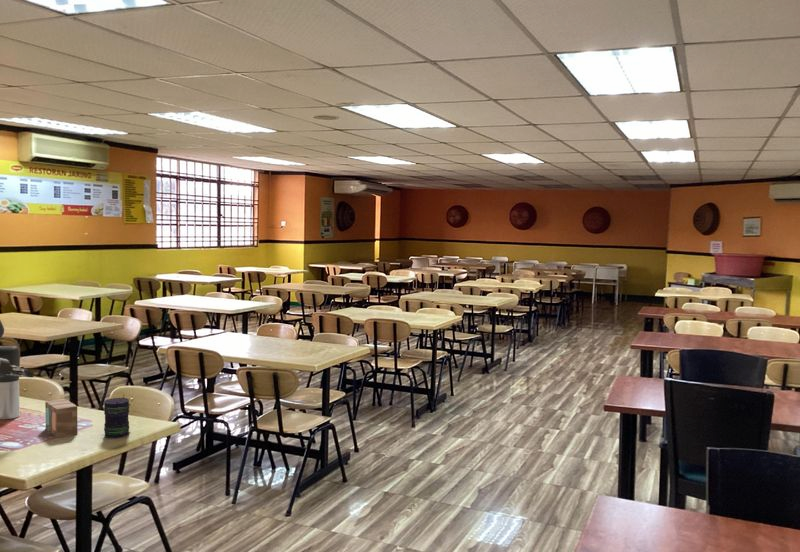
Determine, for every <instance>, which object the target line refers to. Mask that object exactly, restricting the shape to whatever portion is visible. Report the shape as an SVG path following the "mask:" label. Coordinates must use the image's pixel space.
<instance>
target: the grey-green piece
mask: <svg viewBox="0 0 800 552" xmlns="http://www.w3.org/2000/svg"><path fill="white" fill-rule="evenodd" d="M46 424H47V425H48V426H50V409H49V408H48V407H46V409H45V425H46Z"/></svg>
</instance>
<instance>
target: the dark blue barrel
mask: <svg viewBox="0 0 800 552" xmlns="http://www.w3.org/2000/svg"><path fill="white" fill-rule="evenodd" d="M129 402H130V399H129V398H127V397H124V398H123V397H114V398H109V399H106V400H104V402H103V403H104V405H103V411H104V412H103V413H104V428H103V429H104V438H105V439H114V440H115V439H121V438H125V437H129V435H130V421H129V413H130V406H129V404H130V403H129Z"/></svg>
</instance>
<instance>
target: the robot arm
mask: <svg viewBox="0 0 800 552" xmlns="http://www.w3.org/2000/svg"><path fill="white" fill-rule="evenodd" d="M4 333H5V327H4V325H3V322H2V320H1V319H0V340H1V339H2V338H3V336H4ZM20 363H21V351H20V347H18V346H17V345H8V346H7V345H0V420H10V419H11V420H12V419H15V418H18V417H20V415H21V414H20V411H21V410H20V377H26V378H34V375H35V372H34V371H30V370H29V369H28V368H26V367H24V366H20Z"/></svg>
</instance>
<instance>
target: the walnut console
mask: <svg viewBox="0 0 800 552" xmlns="http://www.w3.org/2000/svg"><path fill="white" fill-rule="evenodd" d="M44 403H45V408H44V409H45V410H46V407H48V408H49V409H50V426H48V425H47V424H46V423H45V429H46V430H47V431H48V430H49V431H48V432H49V433H50V434H52V435H53V434H54V435H53V436H55V437H56V438H60V437H61V438H62V437H67V435H68V436H72V435H73V434H74V435H78V433H79V432H78V406H77V405H76V404H75V403H73V402H71V401H70V400H68V399H67V398H62V399H61V398H59V399H52V400H48V401H45V402H44ZM52 412H55V413H56V431H55V430H53V429H52Z"/></svg>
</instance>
